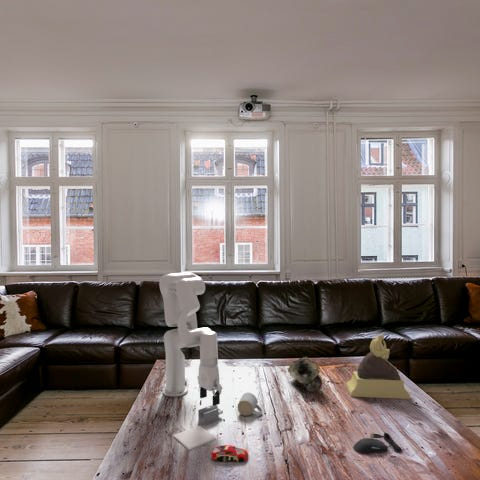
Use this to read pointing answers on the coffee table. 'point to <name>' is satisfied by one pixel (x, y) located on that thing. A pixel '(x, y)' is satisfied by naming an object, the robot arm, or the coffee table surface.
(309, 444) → the coffee table surface
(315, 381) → the hollow geode rock
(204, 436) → the felt coaster
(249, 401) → the ceramic mug
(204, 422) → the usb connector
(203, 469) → the coffee table surface
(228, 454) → the race car
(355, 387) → the yellow brown mound sculpture
